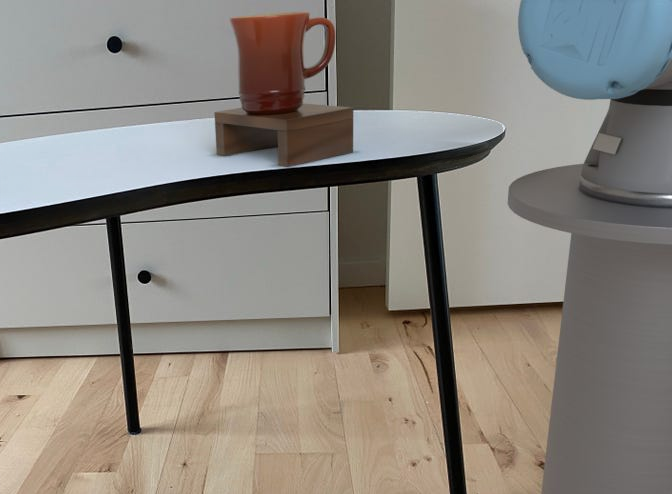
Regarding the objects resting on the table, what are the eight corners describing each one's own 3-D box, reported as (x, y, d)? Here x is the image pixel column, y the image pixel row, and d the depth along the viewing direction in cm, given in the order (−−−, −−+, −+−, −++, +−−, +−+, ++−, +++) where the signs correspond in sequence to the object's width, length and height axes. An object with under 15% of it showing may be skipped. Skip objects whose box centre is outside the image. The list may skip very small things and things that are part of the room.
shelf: (353, 152, 96) (353, 107, 94) (287, 166, 91) (286, 119, 89) (279, 142, 106) (278, 101, 104) (216, 154, 101) (214, 112, 99)
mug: (247, 119, 91) (242, 18, 86) (225, 111, 98) (220, 17, 94) (349, 108, 93) (350, 9, 89) (320, 101, 101) (319, 9, 97)
